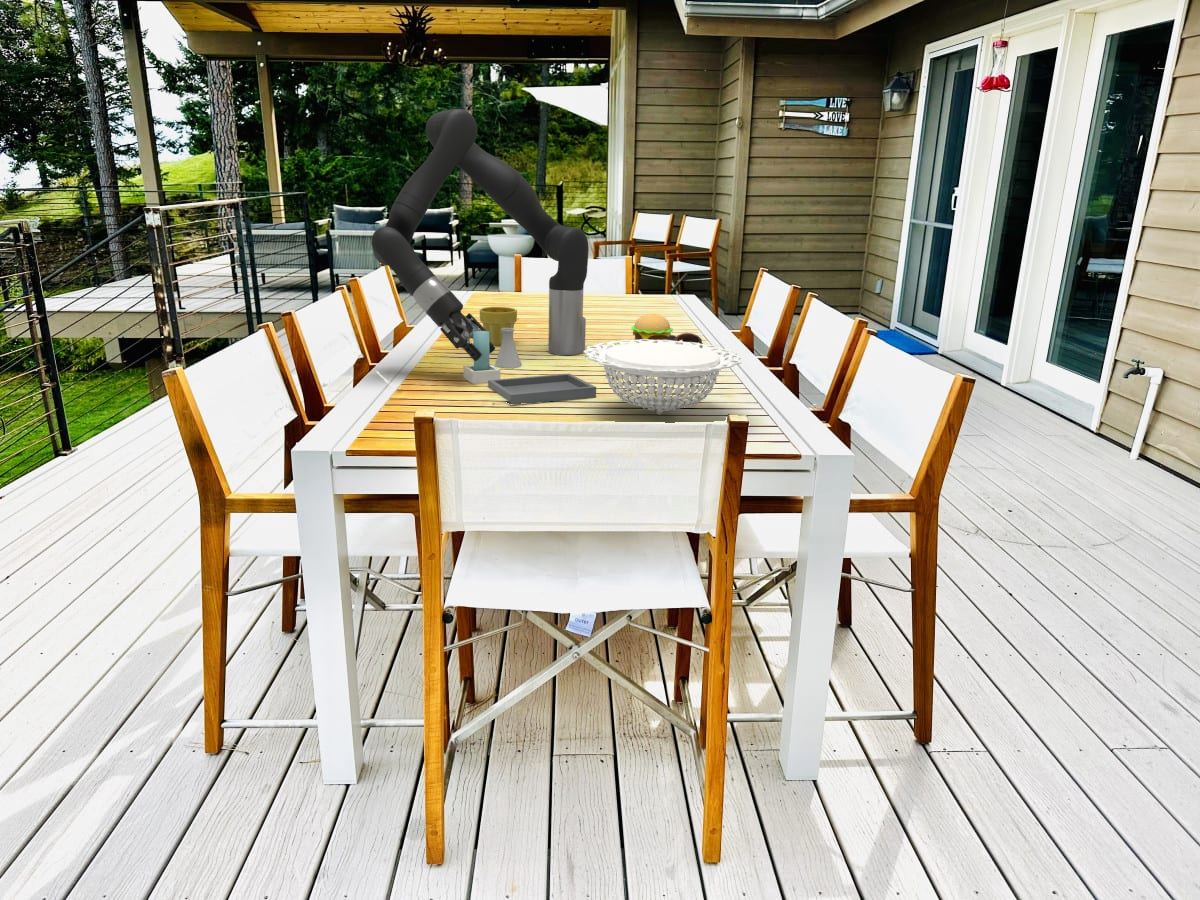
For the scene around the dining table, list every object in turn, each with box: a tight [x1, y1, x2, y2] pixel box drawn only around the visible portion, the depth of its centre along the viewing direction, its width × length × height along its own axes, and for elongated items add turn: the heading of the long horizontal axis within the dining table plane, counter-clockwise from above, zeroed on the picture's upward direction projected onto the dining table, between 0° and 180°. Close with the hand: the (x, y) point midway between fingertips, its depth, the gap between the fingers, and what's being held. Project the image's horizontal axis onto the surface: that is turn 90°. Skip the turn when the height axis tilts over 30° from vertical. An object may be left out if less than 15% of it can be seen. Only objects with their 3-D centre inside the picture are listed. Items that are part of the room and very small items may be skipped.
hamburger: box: [631, 313, 674, 343], centre depth 247 cm, size 12×12×9 cm
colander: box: [583, 339, 743, 415], centre depth 173 cm, size 32×32×13 cm
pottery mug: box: [666, 332, 704, 348], centre depth 228 cm, size 12×10×8 cm
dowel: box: [472, 331, 491, 371], centre depth 195 cm, size 4×4×11 cm
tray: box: [487, 373, 597, 405], centre depth 188 cm, size 20×14×2 cm
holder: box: [462, 364, 501, 385], centre depth 196 cm, size 7×7×4 cm
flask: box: [493, 328, 523, 370], centre depth 210 cm, size 7×7×10 cm
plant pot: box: [479, 306, 518, 345], centre depth 240 cm, size 10×10×10 cm
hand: (485, 354), depth 194 cm, fingers open, 8 cm apart
